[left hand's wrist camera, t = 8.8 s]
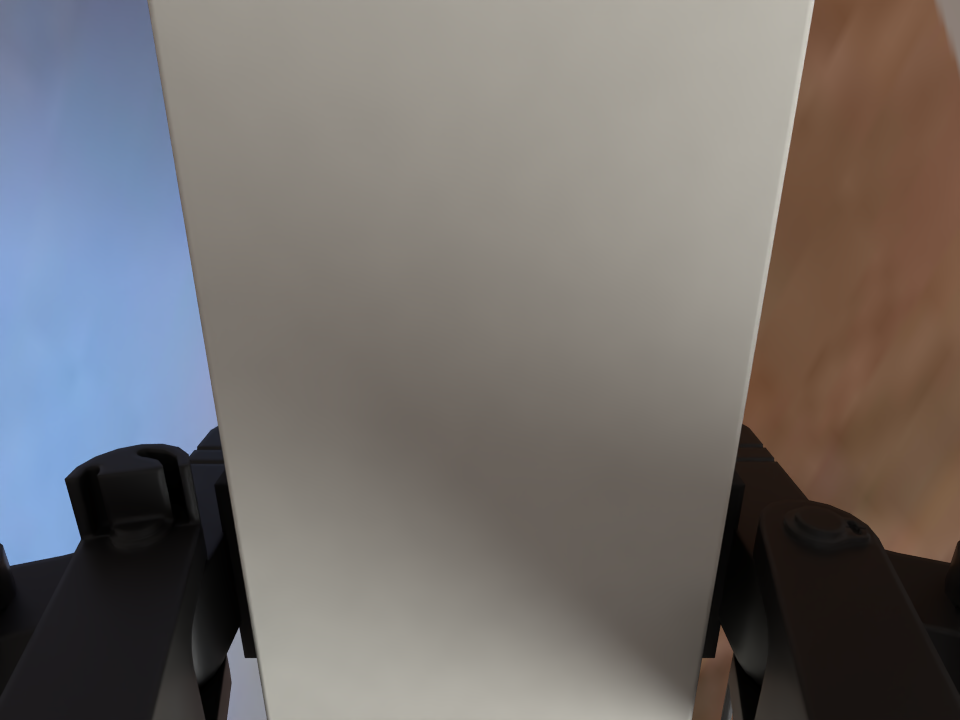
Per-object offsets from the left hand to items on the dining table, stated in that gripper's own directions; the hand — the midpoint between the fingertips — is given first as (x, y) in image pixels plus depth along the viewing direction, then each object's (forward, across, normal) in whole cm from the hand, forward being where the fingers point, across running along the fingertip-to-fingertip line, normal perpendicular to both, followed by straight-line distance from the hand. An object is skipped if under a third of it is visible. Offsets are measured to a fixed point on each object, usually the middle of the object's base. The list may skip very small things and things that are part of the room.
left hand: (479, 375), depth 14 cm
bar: (+1, 0, -8) cm, 8 cm away
